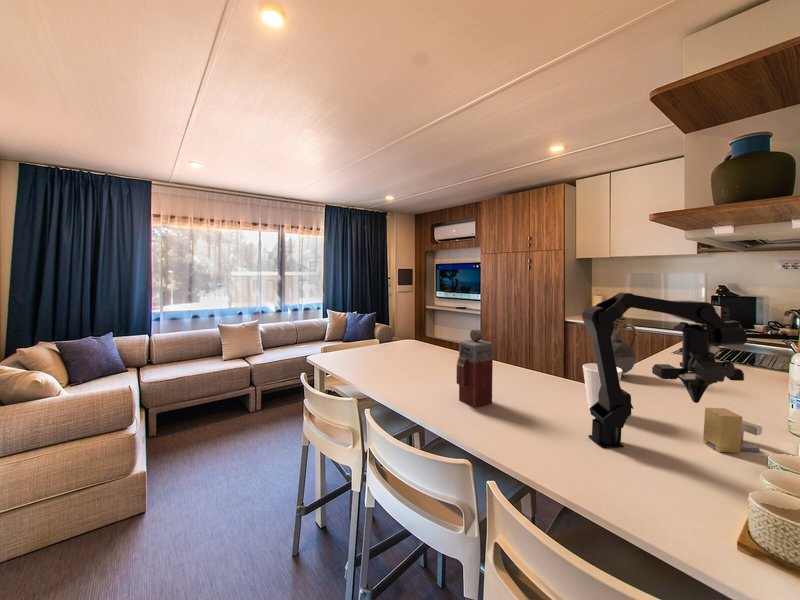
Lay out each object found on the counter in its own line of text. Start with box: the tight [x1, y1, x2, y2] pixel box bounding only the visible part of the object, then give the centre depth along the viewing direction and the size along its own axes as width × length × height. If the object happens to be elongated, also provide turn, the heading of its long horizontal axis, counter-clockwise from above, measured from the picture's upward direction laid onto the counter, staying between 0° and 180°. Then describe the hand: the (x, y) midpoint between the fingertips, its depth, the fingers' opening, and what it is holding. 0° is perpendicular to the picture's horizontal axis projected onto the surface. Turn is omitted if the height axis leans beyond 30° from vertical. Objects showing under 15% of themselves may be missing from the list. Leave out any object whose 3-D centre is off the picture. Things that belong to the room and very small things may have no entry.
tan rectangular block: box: [702, 407, 743, 454], centre depth 91 cm, size 5×6×10 cm
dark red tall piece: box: [456, 328, 494, 409], centre depth 125 cm, size 9×11×28 cm
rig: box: [707, 419, 763, 453], centre depth 94 cm, size 13×9×6 cm, turn 83°
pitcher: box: [611, 314, 638, 379], centre depth 156 cm, size 11×19×30 cm, turn 102°
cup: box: [582, 362, 623, 412], centre depth 115 cm, size 12×12×16 cm
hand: (695, 402), depth 92 cm, fingers closed
